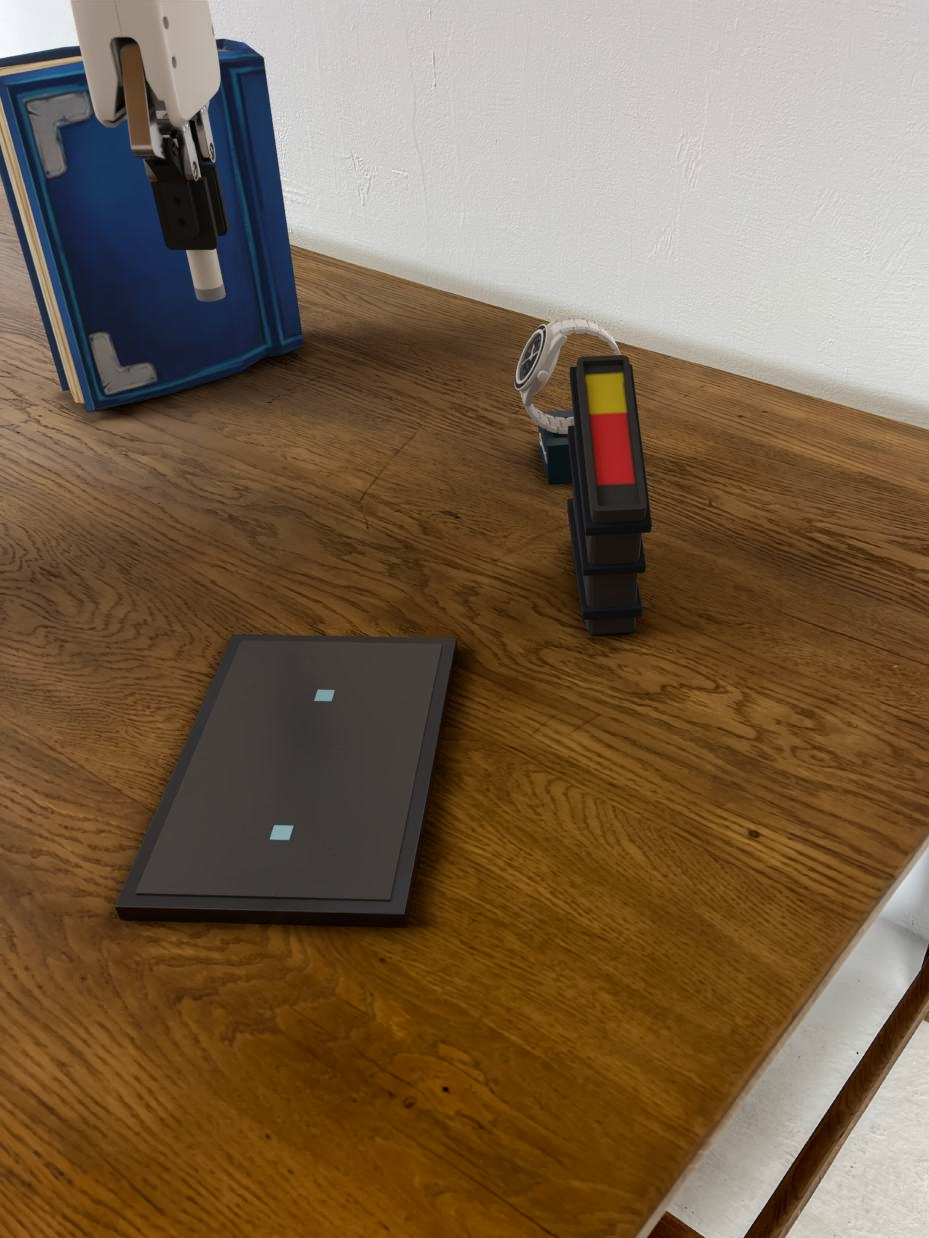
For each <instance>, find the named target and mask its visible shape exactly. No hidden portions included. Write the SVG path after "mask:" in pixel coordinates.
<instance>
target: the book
mask: <svg viewBox="0 0 929 1238" xmlns="http://www.w3.org/2000/svg"><path fill="white" fill-rule="evenodd" d="M215 40H216V46H217V52H218V59H219V67H220V86H219V89H218V91H217V92H216V94H215V95H214V96H213V97H212V98H211V99H210V100H209V106H208V110H207V112H208V115H209V116H208V117H209V122H210V127H211V133H212V138H213V143H214V148H215V162H214V163H207V164H217V168H218V173H219V178H220V183H221V188H222V193H223V198H224V203H225V208H226V213H227V219H228V224H229V231H228V232H227V234H226V235H224V236H218V238H219V245H218V246H217V247H216V252H217V256H218V261H219V266H220V271H221V276H222V281H223V284H224V289H225V294H226V295H225V297H224V298H222V299H220V300H217V301H212V302H204V301H200V300H198V299H197V298H196V294H195V289H194V283H193V279H192V274H191V270H190V265H189V261H188V256H187V252H186V250H170V249H168V248H167V247H166V245H165V242H164V238H163V233H162V229H161V225H160V221H159V216H158V212H157V208H156V204H155V199H154V195H153V191H152V187H151V182H150V181H149V179H148V177H147V174H146V170H145V165H144V161H143V159H142V158H139V157H136V156H134V155H133V153H132V150H131V145H130V137H129V129H128V121H127V119H126V120H124V121H123V122H122V123H121V124H119V125H118V126H117V127H114V128H108V127H105V126H104V125H103V124H102V123H101V122H100V121H99V120H98V119H97V117H96V115H95V112H94V108H93V104H92V100H91V95H90V91H89V87H88V82H87V77H86V73H85V68H84V64H83V59H82V54H81V50H80V45H71V46H60V47H57V48H56V47H55V48H50V49H45V50H39V51H33V52H28V53H22V54H17V55H16V54H15V55H10V56H5V57H0V179H1V182H2V187H3V190H4V194H5V197H6V200H7V204H8V207H9V211H10V214H11V218H12V220H13V224H14V228H15V231H16V235H17V239H18V241H19V242H18V243H19V246H20V249H21V252H22V256H23V259H24V262H25V266H26V269H27V274H28V277H29V280H30V283H31V287H32V290H33V293H34V297H35V301H36V304H37V308H38V311H39V314H40V318H41V321H42V324H43V329H44V331H45V335H46V338H47V342H48V345H49V349H50V352H51V355H52V360H53V363H54V366H55V370H56V373H57V377H58V380H59V384H60V388H61V391H62V392H66V391H70V393H71V395H72V398H73V401H74V403H78V404H84V406H85V409H86V413H87V414H88V413H93V412H97V411H101V410H105V409H110V408H115V407H119V406H124V405H128V404H132V403H133V404H134V403H137V402H143V401H146V400H152V399H156V398H159V397H164V396H169V395H171V394H175V393H178V392H182V391H184V390H188V389H192V388H194V387H198V386H201V385H205V384H207V383H211V382H214V381H218V380H221V379H225V378H228V377H230V376H234V375H237V374H240V373H242V372H243V371H245V370H246V369H248V368H250V367H251V366H252V365H254V364H255V363H257V362H259V361H260V360H261V359H264V358H273V357H280V356H283V355H287V354H288V353H292V352H295V351H296V350H298V349H299V348H300V347H302V346H303V345H304V343H305V342H304V335H303V329H302V328H303V327H302V322H301V315H300V314H301V313H300V307H299V300H298V293H297V286H296V278H295V272H294V271H295V270H294V265H293V264H294V263H293V257H292V250H291V249H292V248H291V243H290V234H289V229H288V222H287V215H286V214H287V213H286V207H285V199H284V193H283V186H282V185H283V184H282V178H281V170H280V164H279V157H278V150H277V142H276V141H277V140H276V135H275V130H274V121H273V114H272V107H271V100H270V99H271V98H270V93H269V92H270V91H269V85H268V78H267V71H266V70H267V69H266V63H265V57H264V56H263V55H262V54H261V53H259V52H257V51H256V50H255V49H254V48H253V47H251V46H250V45H249V44H247V42H244V41H239V40H234V39H233V40H232V39H230V38H229V39H228V38H215ZM156 118H157V115H156Z"/></svg>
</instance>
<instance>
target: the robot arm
mask: <svg viewBox="0 0 929 1238" xmlns="http://www.w3.org/2000/svg"><path fill="white" fill-rule="evenodd" d="M70 6H71V10H72V15H73V21H74V25H75V30H76V35H77V39H78V46H80V50H81V54H82V59H83V64H84V68H85V73H86V77H87V82H88V87H89V91H90V95H91V100H92V104H93V108H94V112H95V115H96V117H97V119H98V120H99V121H100V122H101V123H102V124H103V125H104V126H105V127H108V128H114V127H117V126H118V125H119V124H121V123H122V122H123V121H124V120H126V119H127V121H128V129H129V137H130V145H131V150H132V153H133V155H134V156H136V157H139V158H142V159H143V161H144V165H145V170H146V174H147V177H148V179H149V181H150V182H151V187H152V191H153V195H154V199H155V204H156V208H157V212H158V216H159V221H160V225H161V229H162V233H163V238H164V242H165V245H166V247H167V248H168V249H170V250H214V249H216V247H217V246H218V245H219V238H218V236H224V235H226V234H227V232H228V231H229V224H228V219H227V213H226V208H225V203H224V198H223V193H222V188H221V183H220V178H219V173H218V168H217V164H207V163H214V162H215V148H214V143H213V138H212V133H211V127H210V122H209V117H208V116H209V115H208V112H207V110H208V106H209V100H210V99H211V98H212V97H213V96H214V95H215V94H216V92H217V91H218V89H219V86H220V67H219V59H218V52H217V46H216V40H215V39H216V35H215V29H214V23H213V19H212V14H211V9H210V5H209V0H70ZM156 115H157V118H156ZM173 139H177V143H178V146H177V144H176V143H175V141H174V140H173ZM193 142H194V145H195V150H196V155H197V159H196V155H195V150H194V145H193ZM197 160H198V164H197ZM198 165H199V169H198ZM199 170H200V174H201V177H199Z"/></svg>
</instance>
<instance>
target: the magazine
mask: <svg viewBox="0 0 929 1238" xmlns="http://www.w3.org/2000/svg"><path fill="white" fill-rule="evenodd" d="M569 385H570V396H571V405H572V410H573V416H574V426H568V445H569V454H570V463H571V472H572V481H573V482H572V497H571V498H570V497H569V498H568V497H567V500H566V512H567V513H566V514H567V520H568V528H569V535H570V541H571V548H572V556H573V562H574V569H575V577H576V585H577V590H578V598H579V605H580V612H581V619H582V620H583V621H585V627H586V631H587V633H588V635H592V636H594V635H596V636H597V635H610V634H611V635H613V634H629V633H634V631H635V629H636V621H637V620H636V618H642V617H643V615H644V607H643V601H642V596H641V591H640V590H641V589H640V585H639V580H638V579H639V574H645V573H646V571H647V563H646V556H645V548H644V540H643V534H650V533H652V528H653V520H652V512H651V505H650V497H649V488H648V479H647V473H646V464H645V457H644V449H643V440H642V433H641V426H640V425H641V423H640V417H639V410H638V409H639V408H638V401H637V394H636V392H637V391H636V384H635V377H634V367H633V364H632V363H630V358H629V357H628V355H624V354H621V355H614V354H612V355H611V354H610V355H590V356H589V355H587V356H580V357H578V358H577V361H576V366H570V367H569Z"/></svg>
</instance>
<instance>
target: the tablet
mask: <svg viewBox="0 0 929 1238" xmlns="http://www.w3.org/2000/svg"><path fill="white" fill-rule="evenodd" d="M458 648H459V647H458V638H456V637H421V636H420V637H417V636H416V637H415V636H414V637H412V636H365V635H363V636H358V635H357V636H356V635H310V634H309V635H305V634H303V635H302V634H300V635H299V634H250V633H249V634H247V633H244V634H243V633H240V634H239V633H233V634H232V635H231V636H230V639H229V642H228V643H227V646H226V648H225V651H224V653H223V655H222V657H221V660H220V662H219V664H218V667H217V669H216V671H215V674H214V676H213V678H212V680H211V682H210V685H209V687H208V690H207V692H206V695H205V697H204V699H203V701H202V704H201V706H200V708H199V711H198V713H197V716H196V717H195V720H194V722H193V725H192V727H191V729H190V731H189V734H188V735H187V738H186V741H185V743H184V745H183V748H182V750H181V751H180V754H179V756H178V758H177V761H176V764H175V765H174V768H173V771H172V773H171V775H170V778H169V780H168V782H167V784H166V787H165V789H164V791H163V794H162V796H161V799H160V801H159V803H158V805H157V807H156V809H155V812H154V814H153V817H152V819H151V822H150V823H149V826H148V829H147V830H146V833H145V835H144V837H143V840H142V842H141V844H140V847H139V849H138V851H137V854H136V856H135V858H134V860H133V863H132V864H131V868H130V869H129V872H128V875H127V877H126V879H125V881H124V884H123V886H122V888H121V890H120V892H119V896H118V897H117V900H116V902H115V904H114V909H115V911H116V914H117V917H118V918H119V920H128V921H129V920H131V921H132V920H133V921H163V922H164V921H165V922H167V921H168V922H169V921H172V922H203V923H205V922H207V923H242V924H277V925H278V924H281V925H315V926H349V927H350V926H353V927H354V926H355V927H356V926H357V927H386V928H387V927H392V928H393V927H394V928H406V927H407V925H408V920H409V916H410V909H411V904H412V899H413V893H414V888H415V882H416V878H417V874H418V873H417V872H418V867H419V861H420V857H421V856H420V855H421V851H422V845H423V840H424V834H425V831H426V825H427V818H428V812H429V807H430V802H431V798H432V796H431V795H432V791H433V786H434V781H435V775H436V770H437V765H438V760H439V759H438V758H439V754H440V749H441V743H442V737H443V733H444V727H445V721H446V716H447V711H448V705H449V701H450V694H451V690H452V685H453V680H454V679H453V678H454V674H455V668H456V662H457V657H458V651H459V649H458Z"/></svg>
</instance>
